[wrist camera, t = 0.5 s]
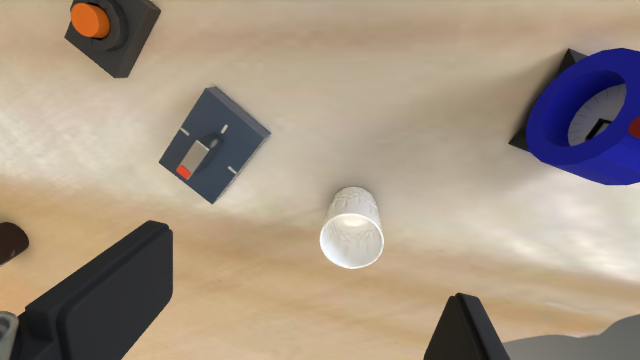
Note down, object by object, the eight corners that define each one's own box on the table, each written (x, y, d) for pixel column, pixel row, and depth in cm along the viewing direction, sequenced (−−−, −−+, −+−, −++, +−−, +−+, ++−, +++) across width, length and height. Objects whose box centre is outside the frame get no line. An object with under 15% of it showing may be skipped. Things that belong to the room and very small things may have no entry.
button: (90, -2, 37) (76, -5, 35) (114, 19, 37) (102, 17, 36) (79, 24, 38) (66, 22, 36) (103, 44, 39) (91, 43, 37)
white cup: (324, 222, 48) (314, 260, 39) (333, 177, 45) (325, 207, 36) (373, 233, 47) (375, 274, 38) (385, 188, 44) (391, 221, 35)
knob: (213, 131, 42) (195, 140, 37) (224, 141, 42) (208, 150, 37) (193, 160, 44) (174, 171, 39) (204, 169, 44) (186, 181, 39)
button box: (109, -34, 39) (82, -44, 35) (161, 10, 40) (140, 5, 36) (79, 38, 43) (52, 36, 39) (127, 77, 44) (105, 78, 40)
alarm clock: (563, 46, 35) (694, 35, 21) (660, 85, 35) (854, 100, 21) (502, 141, 40) (576, 183, 26) (588, 175, 40) (708, 236, 26)
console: (215, 86, 42) (204, 88, 39) (271, 133, 44) (264, 138, 41) (170, 156, 47) (157, 162, 44) (221, 196, 49) (211, 205, 46)
